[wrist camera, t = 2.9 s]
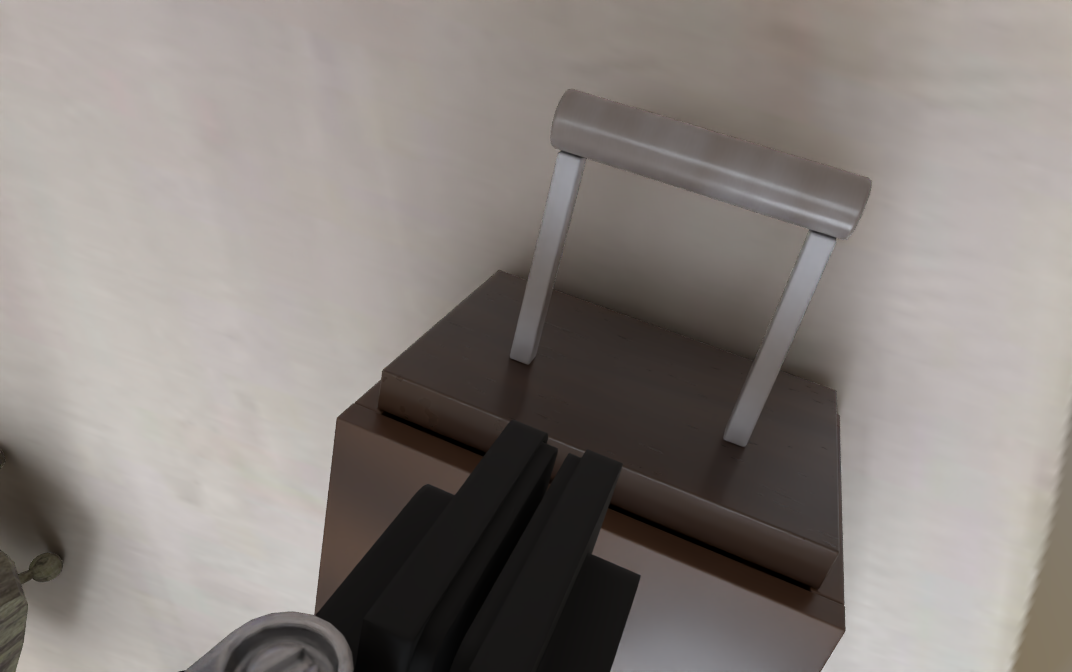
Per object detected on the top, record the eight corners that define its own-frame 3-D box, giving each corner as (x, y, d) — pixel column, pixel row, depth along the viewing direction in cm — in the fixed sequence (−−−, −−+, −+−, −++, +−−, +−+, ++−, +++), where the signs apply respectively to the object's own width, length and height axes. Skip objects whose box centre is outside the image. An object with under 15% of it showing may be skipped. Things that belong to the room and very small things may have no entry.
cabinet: (486, 285, 27) (336, 417, 19) (840, 414, 24) (846, 631, 16) (425, 574, 34) (296, 763, 26) (696, 697, 31) (650, 950, 23)
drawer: (546, 47, 22) (423, 73, 15) (948, 164, 20) (1009, 255, 13) (437, 556, 32) (333, 707, 25) (697, 672, 30) (659, 872, 23)
